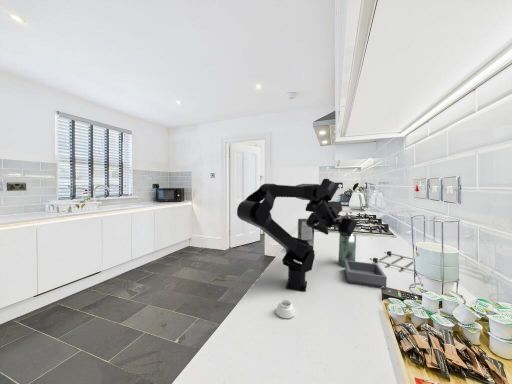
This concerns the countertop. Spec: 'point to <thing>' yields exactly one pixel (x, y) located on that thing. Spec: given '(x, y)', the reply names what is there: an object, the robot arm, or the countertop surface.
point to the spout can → (347, 249)
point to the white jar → (285, 309)
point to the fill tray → (364, 274)
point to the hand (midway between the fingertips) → (337, 236)
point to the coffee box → (305, 232)
